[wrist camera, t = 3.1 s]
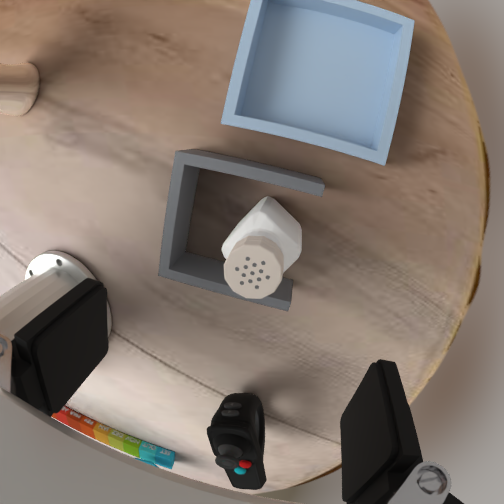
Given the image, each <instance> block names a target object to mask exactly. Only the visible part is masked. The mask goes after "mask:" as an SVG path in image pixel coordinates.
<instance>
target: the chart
mask: <svg viewBox="0 0 504 504" xmlns="http://www.w3.org/2000/svg"><path fill="white" fill-rule="evenodd" d="M51 417H53V418H55V419H57V420H59V421H60V422H62V423H64V424H66V425H68V426H70V427H72V428H74V429H76V430H78V431H80V432H82V433H84V434H86V435H88V436H90V437H92V438H94V439H96V440H98V441H100V442H103V443H105V444H107V445H109V446H112V447H114V448H116V449H119V450H121V451H123V452H126V453H128V454H131V455H133V456H136V457H139V458H141V459H139V458H135V459H137V460H140V461H142V462H145V463H147V464H150V465H152V466H155V467H158V466H156V465H155V464H158V465H160V466H163V467H166V468H169V469H172V466H173V464H174V461H175V452H173V451H170V450H167V449H164V448H162V447H158V446H156V445H153V444H150V443H147V442H145V441H142V440H139V439H137V438H134V437H132V436H129V435H127V434H124V433H122V432H119V431H117V430H115V429H112V428H110V427H108V426H105V425H103V424H101V423H99V422H97V421H94V420H92V419H90V418H88V417H86V416H84V415H82V414H80V413H78V412H76V411H74V410H72V409H70V408H68V407H66V406H63V408H62V409H61V410H60V411H59V412H58V413H53V415H52V416H51ZM143 459H144V460H143ZM154 463H155V464H154ZM158 468H159V467H158Z"/></svg>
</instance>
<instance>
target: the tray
mask: <svg viewBox="0 0 504 504" xmlns="http://www.w3.org/2000/svg"><path fill="white" fill-rule="evenodd" d="M413 28H414V20H412V19H409V18H407V17H404V16H402V15H399V14H396V13H393V12H391V11H388V10H385V9H382V8H379V7H376V6H373V5H369V4H366V3H363V2H360V1H356V0H251V2H250V6H249V10H248V13H247V17H246V21H245V24H244V28H243V32H242V36H241V40H240V44H239V48H238V51H237V55H236V60H235V64H234V68H233V72H232V76H231V80H230V84H229V89H228V93H227V97H226V102H225V106H224V111H223V115H222V120H221V124H225V125H230V126H235V127H240V128H245V129H250V130H255V131H260V132H264V133H269V134H273V135H277V136H282V137H286V138H290V139H294V140H298V141H302V142H306V143H310V144H314V145H317V146H321V147H325V148H328V149H332V150H335V151H339V152H342V153H346V154H349V155H352V156H356V157H359V158H362V159H365V160H369V161H372V162H375V163H378V164H381V165H384V166H385V164H386V160H387V156H388V152H389V148H390V144H391V140H392V136H393V132H394V128H395V123H396V119H397V115H398V110H399V106H400V101H401V96H402V91H403V86H404V81H405V76H406V71H407V65H408V60H409V54H410V48H411V41H412V35H413Z"/></svg>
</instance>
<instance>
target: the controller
mask: <svg viewBox="0 0 504 504" xmlns="http://www.w3.org/2000/svg"><path fill="white" fill-rule="evenodd" d="M207 435H208V438H209V441H210V444H211V447H212V450H213V453H214V455H215V456H217V457H216V460H215V462H216V464H217V465H219V466H220V467H222V468H224V469H225V471H226V473H227V476H228V478H229V480H230V482H231V484H232V486H233V487H236V488H239V489H252V490H257V489H261V488H262V487H263V485H264V484H265V482H266V475H265V469H264V464H263V454H264V445H265V420H264V412H263V407H262V403H261V401H260V399H259V398H258V397H257V396H256V395H253V394H250V393H234V394H230V395H228V396H227V397H225V398H224V400H223V401H222V403H221V405H220V407H219V409H218V410H217V412H216V413H215V415H214V416H213V418H212V421H211V426H209V427H208V428H207Z"/></svg>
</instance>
